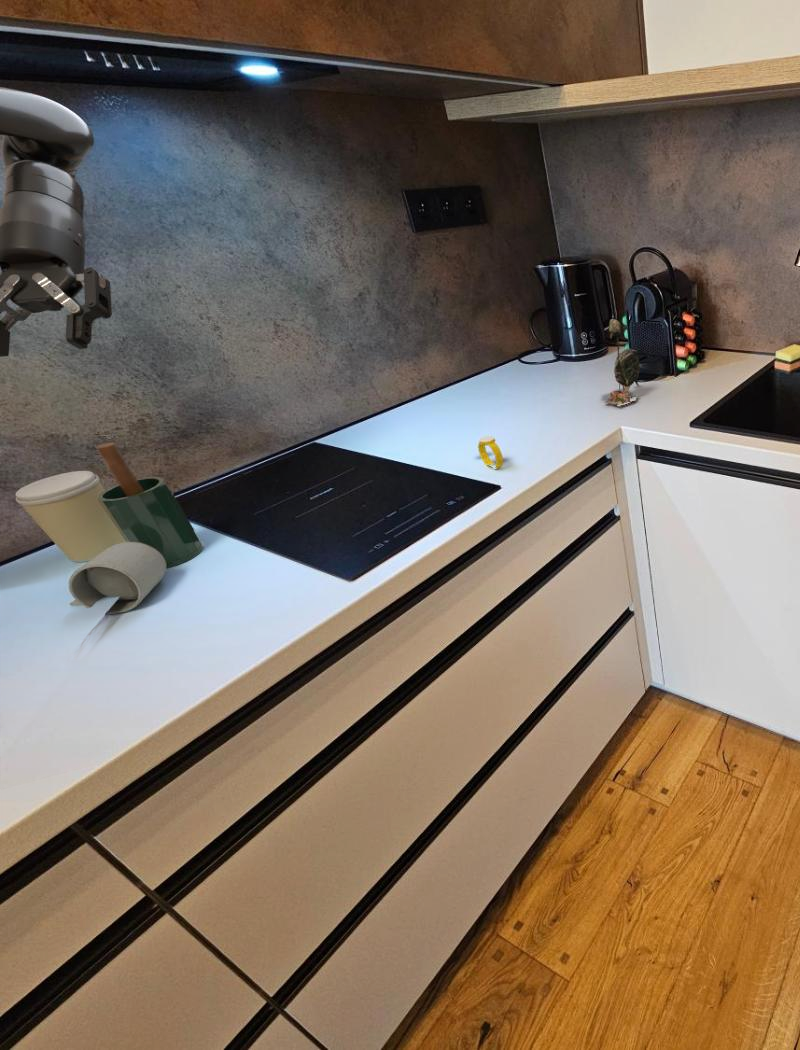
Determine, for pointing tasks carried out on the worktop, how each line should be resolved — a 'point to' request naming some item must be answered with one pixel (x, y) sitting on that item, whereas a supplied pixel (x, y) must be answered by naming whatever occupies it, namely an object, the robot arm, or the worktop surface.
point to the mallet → (119, 469)
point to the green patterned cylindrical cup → (153, 520)
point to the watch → (491, 443)
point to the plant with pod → (623, 368)
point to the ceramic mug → (118, 576)
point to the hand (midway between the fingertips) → (37, 349)
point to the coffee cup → (71, 513)
